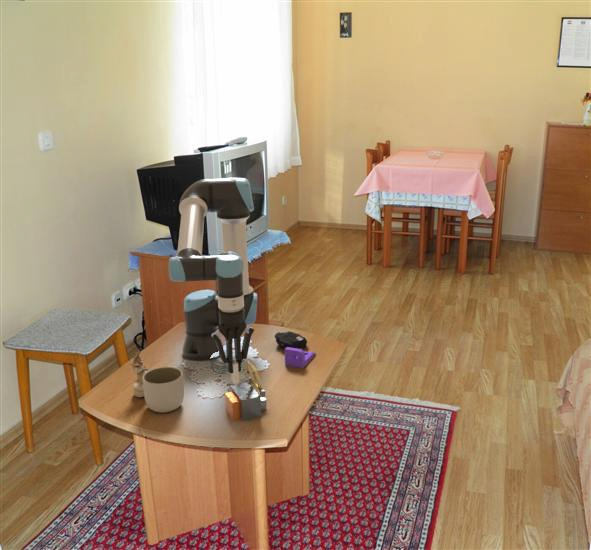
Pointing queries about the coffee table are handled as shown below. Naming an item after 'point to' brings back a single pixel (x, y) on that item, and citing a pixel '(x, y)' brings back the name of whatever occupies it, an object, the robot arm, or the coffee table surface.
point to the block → (248, 400)
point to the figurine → (138, 374)
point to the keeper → (250, 368)
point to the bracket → (297, 357)
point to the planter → (163, 389)
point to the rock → (290, 340)
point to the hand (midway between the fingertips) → (235, 381)
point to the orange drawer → (238, 405)
